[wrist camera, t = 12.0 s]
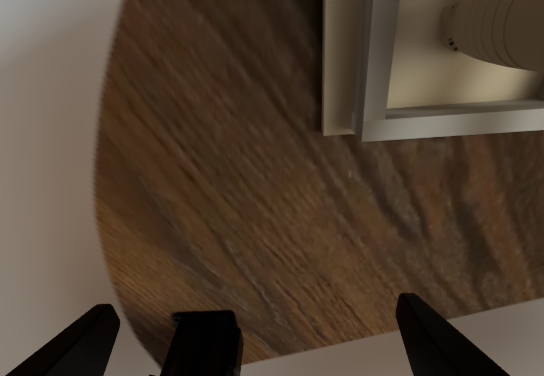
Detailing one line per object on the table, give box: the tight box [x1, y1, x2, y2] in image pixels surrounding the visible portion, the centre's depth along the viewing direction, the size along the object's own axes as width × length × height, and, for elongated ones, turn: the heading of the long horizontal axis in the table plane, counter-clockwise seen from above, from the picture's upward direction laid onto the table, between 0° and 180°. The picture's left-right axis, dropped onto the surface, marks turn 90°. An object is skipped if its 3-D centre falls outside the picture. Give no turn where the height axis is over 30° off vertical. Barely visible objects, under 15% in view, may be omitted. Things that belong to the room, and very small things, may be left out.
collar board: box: [322, 0, 544, 142], centre depth 14 cm, size 16×13×4 cm
